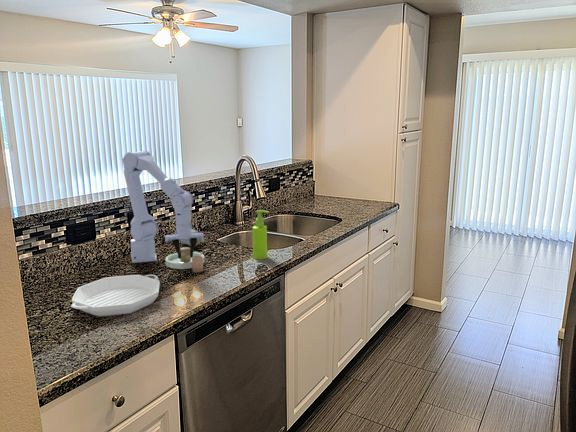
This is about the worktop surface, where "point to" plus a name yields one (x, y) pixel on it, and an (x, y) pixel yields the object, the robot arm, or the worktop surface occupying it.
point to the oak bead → (185, 254)
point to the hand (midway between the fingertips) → (185, 257)
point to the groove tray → (175, 262)
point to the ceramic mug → (189, 239)
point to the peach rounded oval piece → (197, 264)
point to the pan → (116, 295)
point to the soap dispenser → (260, 237)
